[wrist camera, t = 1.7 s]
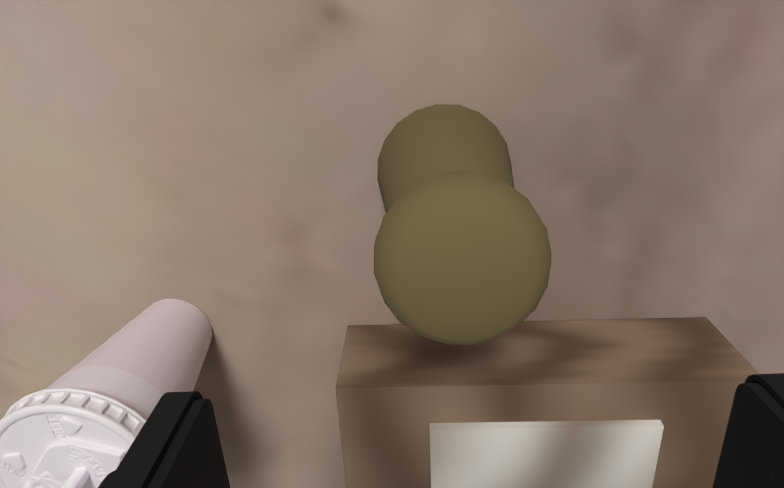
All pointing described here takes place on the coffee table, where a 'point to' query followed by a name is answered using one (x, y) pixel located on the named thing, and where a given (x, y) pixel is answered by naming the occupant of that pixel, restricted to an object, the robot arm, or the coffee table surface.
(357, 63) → the coffee table surface
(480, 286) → the cork
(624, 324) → the pedestal
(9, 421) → the smoothie
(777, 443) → the robot arm
